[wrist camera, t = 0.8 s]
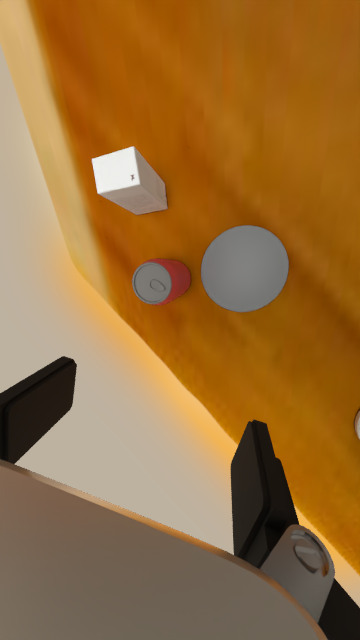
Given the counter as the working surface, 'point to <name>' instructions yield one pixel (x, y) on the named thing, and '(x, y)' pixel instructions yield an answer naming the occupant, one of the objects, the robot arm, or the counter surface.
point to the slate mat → (244, 268)
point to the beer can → (160, 281)
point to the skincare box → (129, 181)
